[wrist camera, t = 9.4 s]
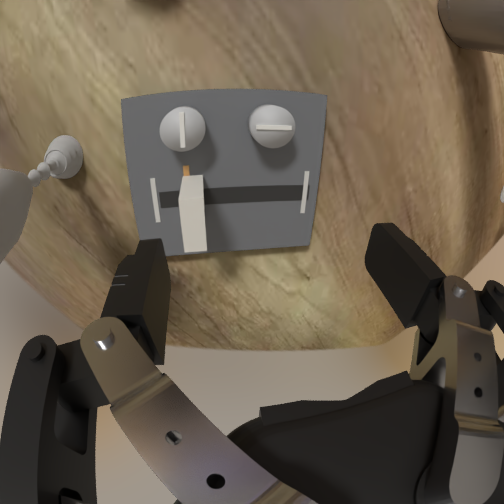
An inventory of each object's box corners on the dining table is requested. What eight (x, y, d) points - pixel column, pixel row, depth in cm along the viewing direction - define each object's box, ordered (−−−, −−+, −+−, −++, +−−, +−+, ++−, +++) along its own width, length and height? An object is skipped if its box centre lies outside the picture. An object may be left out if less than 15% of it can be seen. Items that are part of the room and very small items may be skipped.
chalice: (40, 127, 20) (-77, 193, 6) (91, 123, 22) (-25, 189, 7) (42, 187, 24) (-48, 287, 9) (90, 188, 26) (8, 301, 11)
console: (321, 94, 24) (338, 96, 21) (305, 238, 35) (316, 257, 31) (125, 98, 21) (113, 100, 18) (145, 250, 32) (140, 271, 28)
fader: (203, 174, 26) (204, 198, 21) (205, 219, 29) (207, 250, 24) (182, 176, 26) (177, 200, 21) (186, 220, 28) (184, 252, 24)
